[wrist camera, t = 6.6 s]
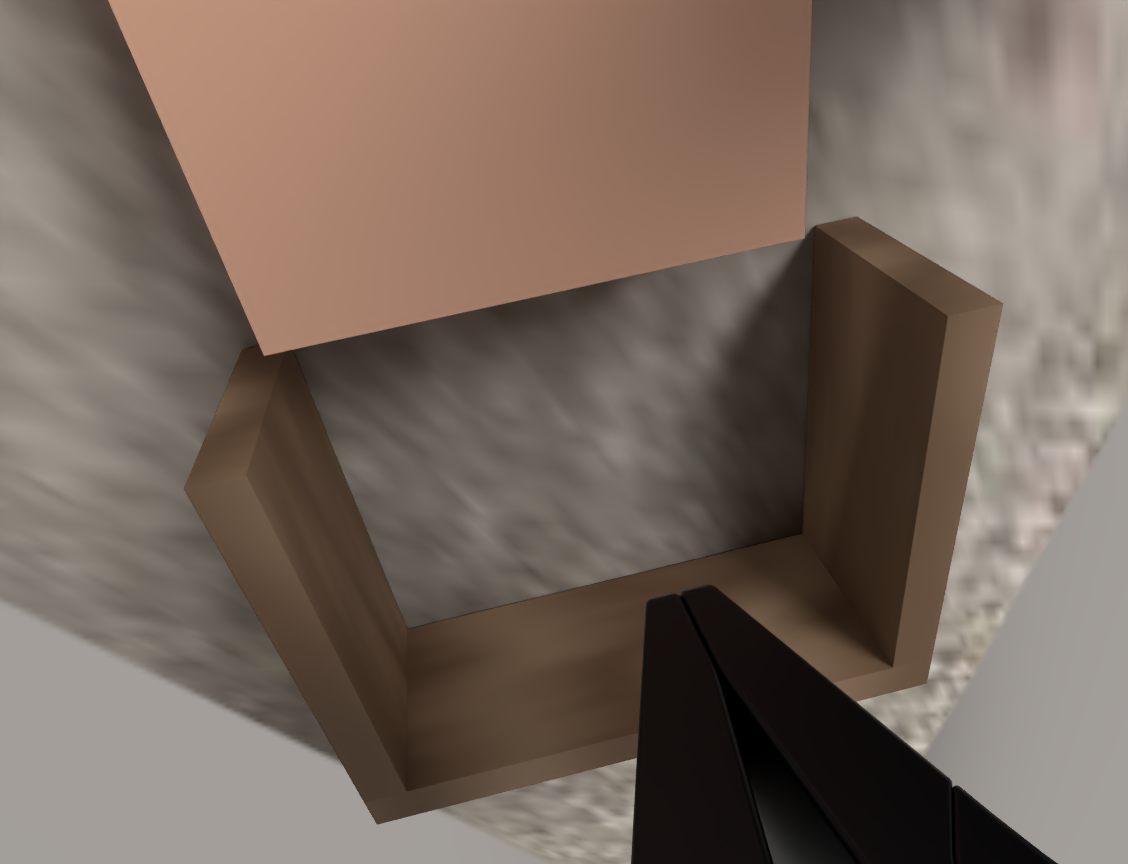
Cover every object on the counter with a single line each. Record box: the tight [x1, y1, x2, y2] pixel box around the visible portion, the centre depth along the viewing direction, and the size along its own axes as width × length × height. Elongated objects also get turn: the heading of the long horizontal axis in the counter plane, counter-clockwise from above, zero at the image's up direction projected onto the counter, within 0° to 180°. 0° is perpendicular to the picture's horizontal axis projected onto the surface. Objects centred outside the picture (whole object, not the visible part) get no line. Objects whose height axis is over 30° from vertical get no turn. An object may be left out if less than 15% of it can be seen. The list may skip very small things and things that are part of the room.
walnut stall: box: [184, 217, 1003, 824], centre depth 17 cm, size 14×10×5 cm
